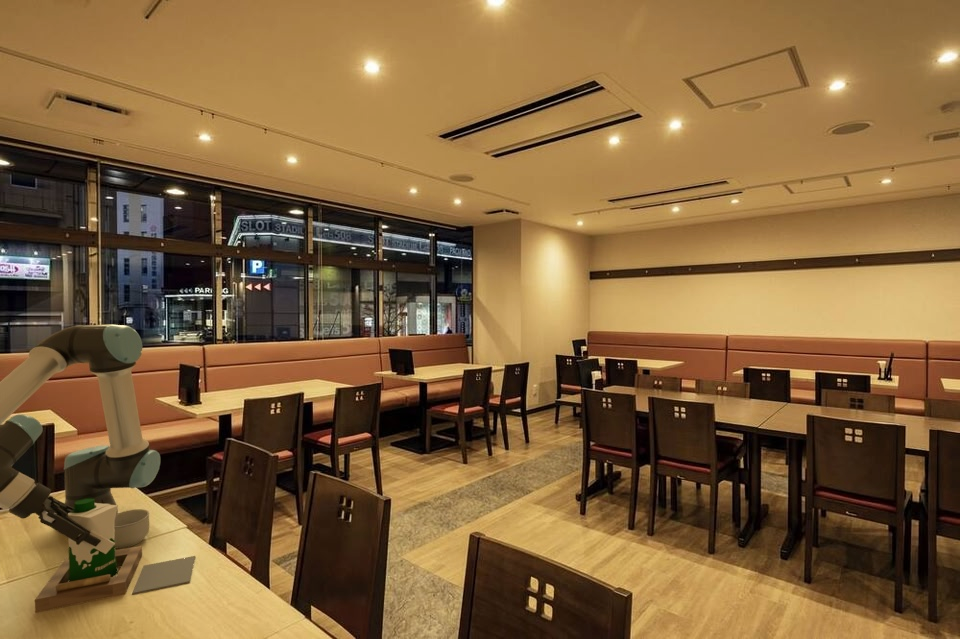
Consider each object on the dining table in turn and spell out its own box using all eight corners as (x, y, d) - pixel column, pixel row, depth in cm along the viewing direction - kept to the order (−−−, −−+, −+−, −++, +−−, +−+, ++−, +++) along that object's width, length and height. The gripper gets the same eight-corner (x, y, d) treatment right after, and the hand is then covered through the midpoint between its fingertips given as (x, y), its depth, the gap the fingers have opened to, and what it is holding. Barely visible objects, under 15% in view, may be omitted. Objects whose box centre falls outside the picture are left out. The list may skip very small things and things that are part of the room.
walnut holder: (65, 570, 131) (64, 553, 131) (142, 556, 138) (141, 539, 138) (35, 612, 113) (34, 592, 112) (125, 594, 120) (125, 575, 120)
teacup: (158, 538, 149) (157, 511, 149) (122, 555, 139) (121, 526, 138) (125, 531, 153) (124, 505, 153) (87, 547, 143) (87, 520, 143)
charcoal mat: (143, 566, 132) (143, 565, 132) (195, 557, 137) (195, 555, 137) (132, 594, 119) (132, 592, 119) (189, 582, 124) (189, 581, 124)
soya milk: (95, 568, 130) (93, 493, 130) (124, 572, 129) (122, 496, 128) (61, 587, 122) (59, 507, 121) (91, 591, 120) (89, 510, 119)
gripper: (9, 496, 123) (93, 539, 134) (3, 526, 106) (98, 572, 117) (37, 470, 126) (116, 514, 137) (35, 495, 110) (125, 543, 120)
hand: (108, 541), depth 127 cm, fingers closed on soya milk, 9 cm apart
